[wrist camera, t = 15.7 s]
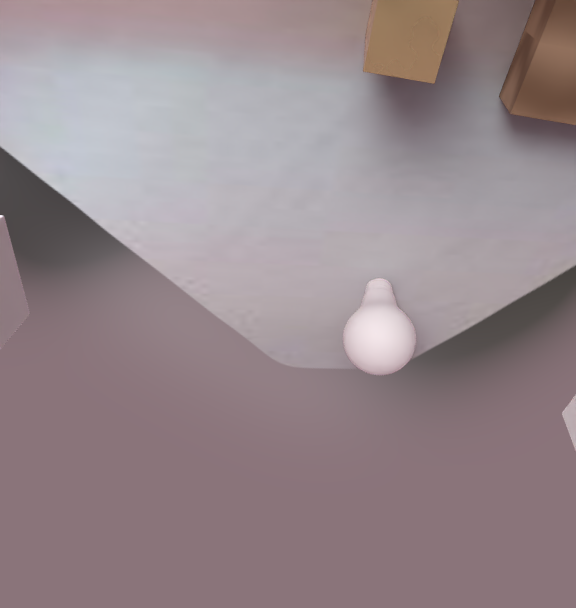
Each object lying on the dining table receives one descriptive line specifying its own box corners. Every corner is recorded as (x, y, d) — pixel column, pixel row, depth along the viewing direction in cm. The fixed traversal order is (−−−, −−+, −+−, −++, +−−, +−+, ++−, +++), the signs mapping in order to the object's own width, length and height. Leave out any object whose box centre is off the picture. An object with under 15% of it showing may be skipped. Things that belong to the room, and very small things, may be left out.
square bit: (379, -33, 33) (380, -13, 25) (439, -23, 33) (458, 0, 25) (365, 34, 36) (363, 71, 28) (421, 44, 36) (434, 83, 28)
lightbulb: (423, 274, 47) (434, 356, 39) (388, 317, 51) (391, 399, 43) (367, 247, 46) (366, 324, 38) (336, 292, 50) (327, 372, 42)
